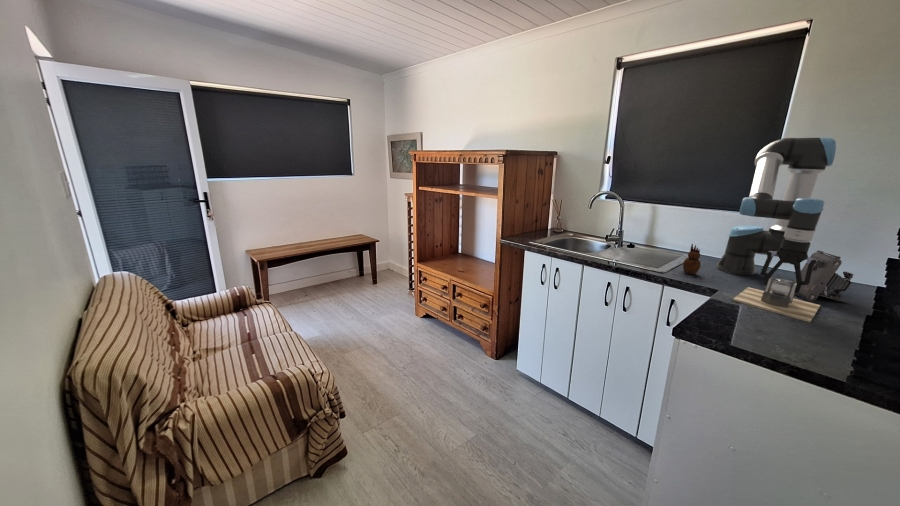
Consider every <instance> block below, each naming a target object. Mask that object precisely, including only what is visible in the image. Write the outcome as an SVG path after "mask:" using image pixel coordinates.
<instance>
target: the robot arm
mask: <svg viewBox="0 0 900 506" xmlns="http://www.w3.org/2000/svg"><path fill="white" fill-rule="evenodd" d="M836 143H837V142H836V139H834V138H833V137H785V138H780V139H779V138H778V139H777V140H774V141H772V142H770V143H769V144H767V145H765V146H764V147H763V148H762V149H760V150H759V152H758V153H757V155H756V156H755V158H754V166H755V172H754V175H753V179H752V183H751V187H750V192H749V196H747V197H743V198H742V199H741V205H740V207H739V214H740V215H741V216H747V217H755V218H756V217H757V218H767V219H776V221H775V223H774V224H773V225H771V226H769V228H768V230H764V227H763V226H760V225H759V226H758V225H757V226H756V225H737V226H736V225H735V226H733V227H732V228H731V230H730V233H729V235H728V240H727V243H726V246H725V251H724V254H723V255H722V257H721V258H720V259H719V261H718V262H717V264H716V269H718V270H720V271H723V272H725V273H729V274H735V275H740V276H753V275H755V273H756V264H755V257H756V255H757V254H758V255H765V256H766V257H767V258H766V259H765V261H764V263H763V266H762V269H761V270H760V275H761V276H763V277H764V282H763V285H764V286H766V287H765V290H764V291H765V292H769V289H770V286H771V282H772V278H773V277H772V276H773V274H775V272H776V271H778V269H779V268H780V267H781V266H782V265H783V264H790V265H793V267H794V274H795V279H796V281H797V283H795V284H794V285H793V288H792V290H791V293H790V296H789V297H790V298H791V299H790V301H791V300H792V299H793V298H794V297H795V295H794V293H795V292H796V293H798V292H799V291H800V288H801V285H808V284H809V283H810V280H811V275H812V271H813V266H814V264H815V263H816V262H817V259H813V258H810V256H809V255H808V252H809V250H810V249H809V248H810V246H811V241H813V238H814V235H815V232H816V229H817V225H818V223H819V220H820V217H821V215H822V212H823V211H824V205H825V201H824V200H823V199H818V198H812V195H813V191H814V189H815V186H816V182H817V179H818V176H819V174H821V173H822V172H825V171H826V167H831V166H833V163H834V160H835V157H836V150H837V144H836ZM782 165H784V166H785V165H786V166H788V168H787V170H788V171H789V172H790V175H789V179H788V182H787V185H786V189H785V191H784V195H783V199H774V196H775V194H774V193H775V190H776V186H777V185H776V184H777V180H778V174H779V168H780V167H781V166H782ZM774 257H777V258H778V262H777V263H776V264H775V265H774V266H773V267H772V268H771V270H770V271H769V272H768V273H767V271H768V269H769V267H770V264H771V262H772V260H773V258H774ZM804 261H806V262H807V263H808V264H809V265H808V268H807V272H806V277H805V281H802V275H801V270H802V268H801V263H803V262H804ZM793 296H794V297H793Z"/></svg>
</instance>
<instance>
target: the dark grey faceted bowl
mask: <svg viewBox="0 0 900 506" xmlns="http://www.w3.org/2000/svg"><path fill="white" fill-rule="evenodd" d="M795 296H796V295H795V294H794V296H793V298H794V297H795ZM790 299H791V298H790V297H786V296H779V295H775V294H772V293H770V292H763V295H762V299H761V301H762V302H765V303H767V304H770V305H774V306H778V307H784V308H788V305H789V303H792V300H793V299H792V300H791V301H790Z"/></svg>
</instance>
